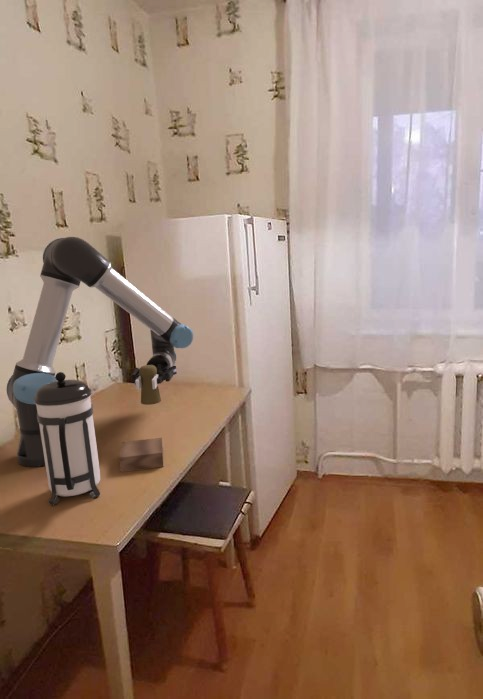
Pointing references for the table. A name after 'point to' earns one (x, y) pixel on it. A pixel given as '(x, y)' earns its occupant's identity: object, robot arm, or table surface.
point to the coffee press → (68, 438)
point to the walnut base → (141, 454)
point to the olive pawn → (149, 385)
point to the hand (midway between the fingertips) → (145, 384)
